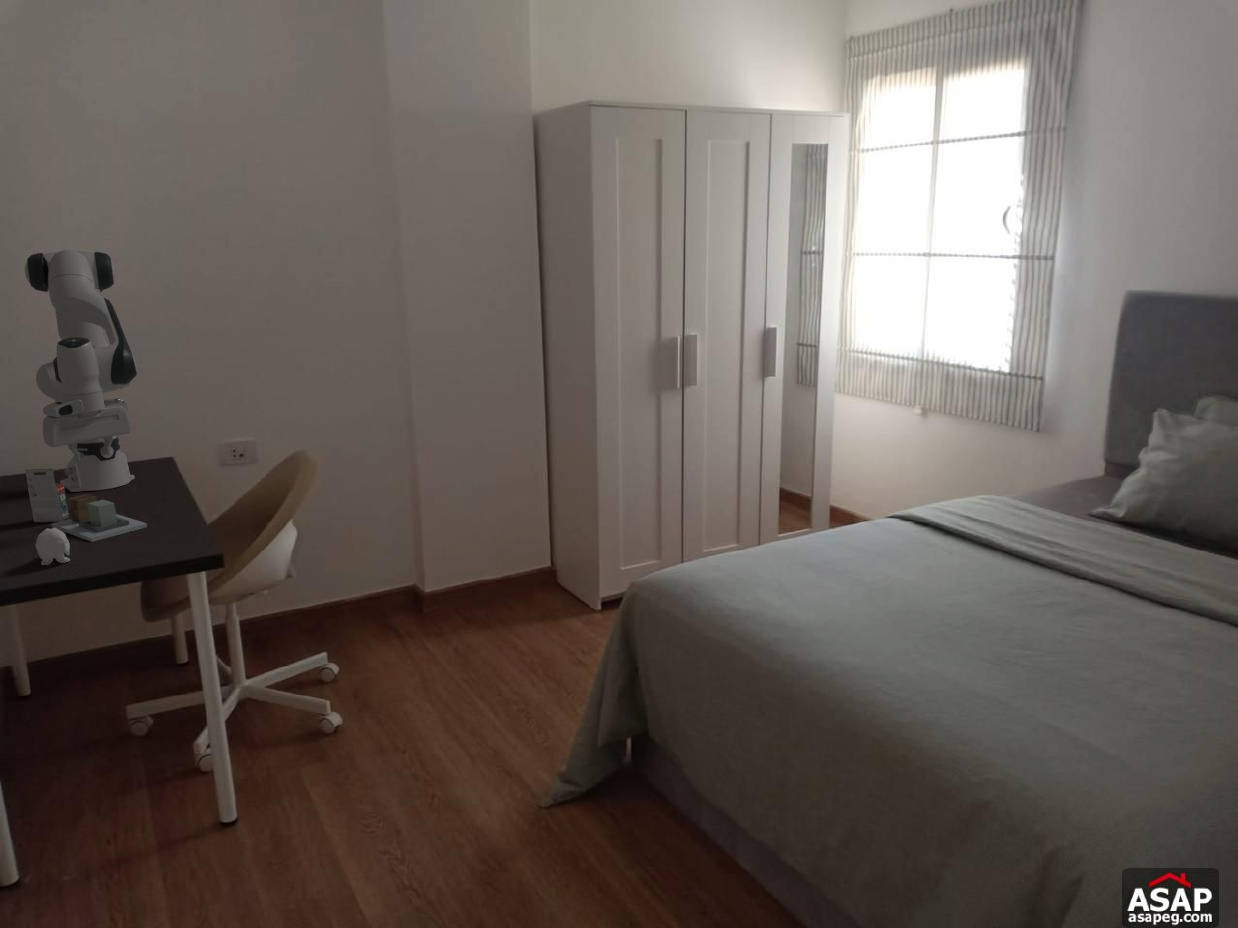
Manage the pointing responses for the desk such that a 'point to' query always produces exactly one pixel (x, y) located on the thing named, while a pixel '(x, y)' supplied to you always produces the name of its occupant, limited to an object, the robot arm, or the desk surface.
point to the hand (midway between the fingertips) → (93, 457)
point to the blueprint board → (89, 532)
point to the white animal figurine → (52, 546)
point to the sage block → (102, 513)
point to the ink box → (46, 497)
